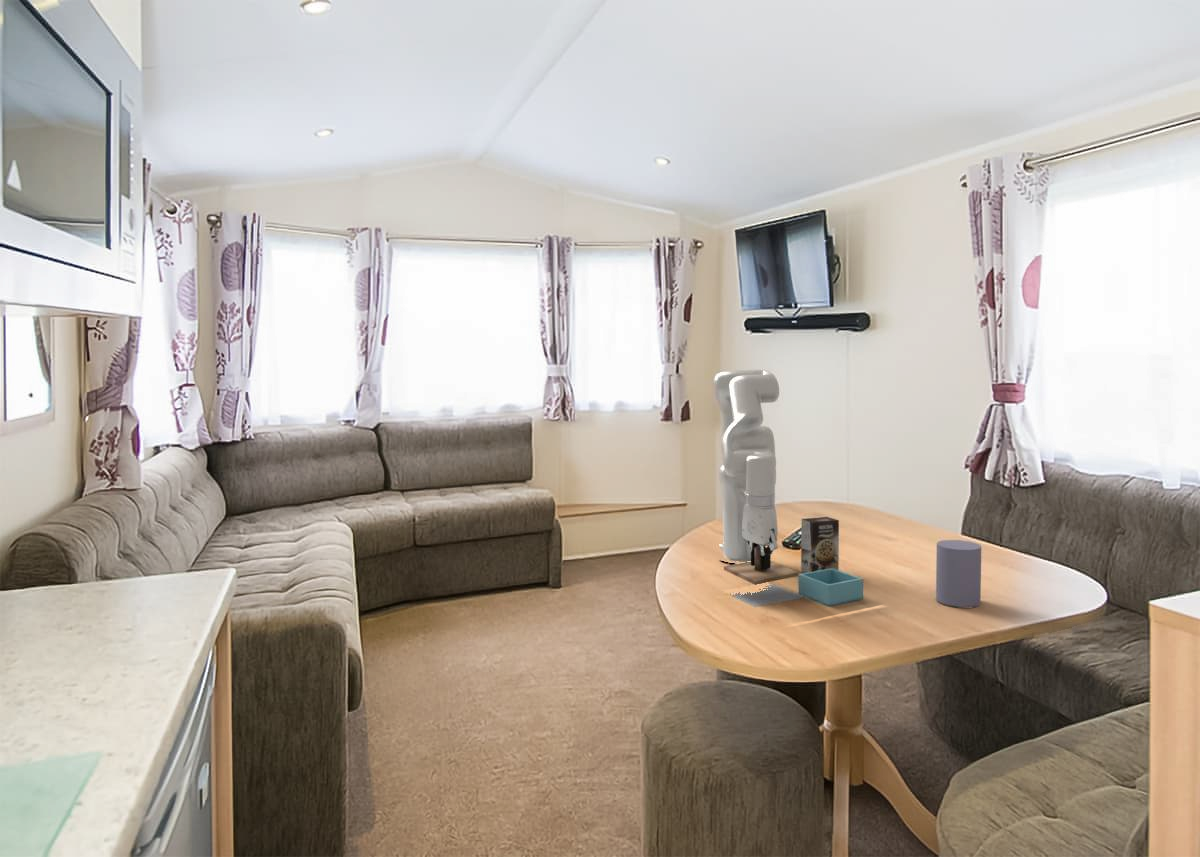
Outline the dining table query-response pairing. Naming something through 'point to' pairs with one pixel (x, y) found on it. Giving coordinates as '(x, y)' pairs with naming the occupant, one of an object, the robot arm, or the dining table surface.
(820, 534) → the coffee box
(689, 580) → the dining table surface
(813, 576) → the open box
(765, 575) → the lid
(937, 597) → the container
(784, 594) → the mat
